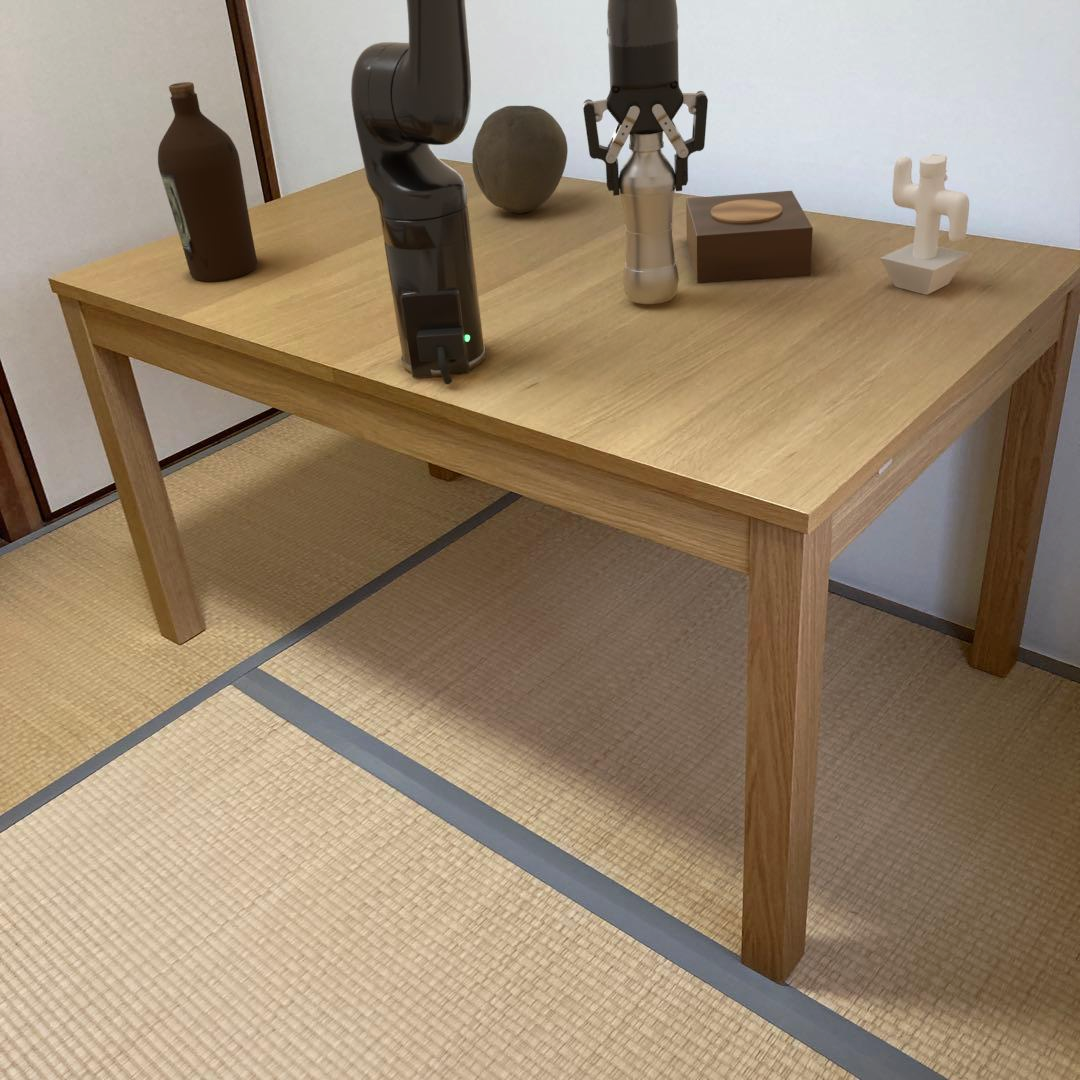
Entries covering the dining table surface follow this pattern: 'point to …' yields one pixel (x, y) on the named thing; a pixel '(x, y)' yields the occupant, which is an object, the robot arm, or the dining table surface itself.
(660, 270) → the metal bottle
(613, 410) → the dining table surface
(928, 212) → the figurine
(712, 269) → the walnut box
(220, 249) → the olive oil
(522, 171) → the cantaloupe
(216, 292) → the dining table surface
